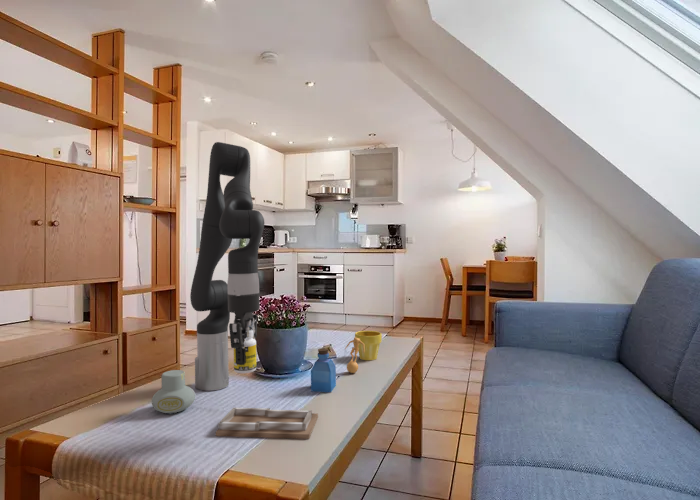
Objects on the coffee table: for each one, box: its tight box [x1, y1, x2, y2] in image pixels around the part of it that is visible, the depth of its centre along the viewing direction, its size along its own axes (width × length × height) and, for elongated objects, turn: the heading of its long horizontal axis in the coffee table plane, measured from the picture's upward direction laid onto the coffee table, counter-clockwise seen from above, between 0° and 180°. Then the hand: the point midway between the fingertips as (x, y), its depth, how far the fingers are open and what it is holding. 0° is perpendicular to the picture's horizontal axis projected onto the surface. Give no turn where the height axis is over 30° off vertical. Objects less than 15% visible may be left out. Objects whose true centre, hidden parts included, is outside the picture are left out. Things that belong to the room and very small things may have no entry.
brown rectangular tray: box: [215, 407, 319, 440], centre depth 104 cm, size 22×12×2 cm, turn 85°
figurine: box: [344, 336, 365, 374], centre depth 148 cm, size 8×6×12 cm
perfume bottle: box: [310, 347, 337, 393], centre depth 131 cm, size 6×6×12 cm
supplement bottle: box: [233, 330, 257, 374], centre depth 105 cm, size 5×5×10 cm
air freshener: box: [150, 369, 196, 414], centre depth 116 cm, size 11×8×10 cm
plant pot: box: [354, 330, 383, 362], centre depth 165 cm, size 10×10×10 cm
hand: (244, 360), depth 105 cm, fingers closed on supplement bottle, 5 cm apart
